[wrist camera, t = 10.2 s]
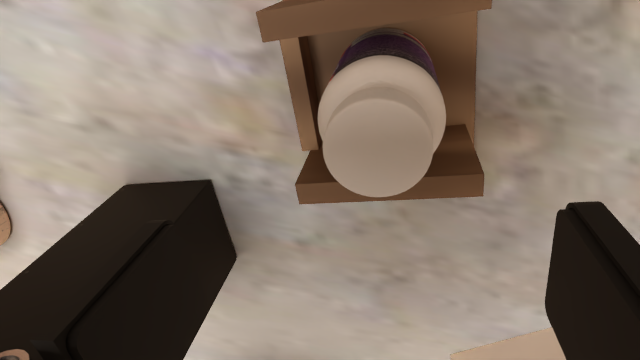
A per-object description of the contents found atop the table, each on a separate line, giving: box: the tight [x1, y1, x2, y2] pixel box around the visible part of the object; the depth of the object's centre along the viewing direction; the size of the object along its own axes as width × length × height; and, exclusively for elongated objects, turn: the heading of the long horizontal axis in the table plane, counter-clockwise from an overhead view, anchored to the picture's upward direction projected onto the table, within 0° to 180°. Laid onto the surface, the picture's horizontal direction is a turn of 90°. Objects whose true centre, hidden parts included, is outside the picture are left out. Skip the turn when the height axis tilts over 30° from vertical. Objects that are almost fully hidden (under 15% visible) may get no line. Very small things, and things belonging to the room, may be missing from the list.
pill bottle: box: [318, 28, 446, 197], centre depth 18 cm, size 5×5×10 cm
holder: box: [256, 0, 492, 204], centre depth 20 cm, size 12×10×7 cm
